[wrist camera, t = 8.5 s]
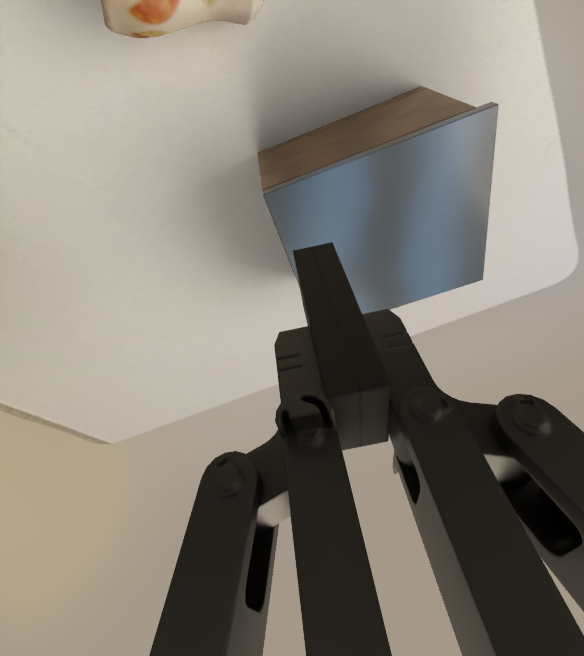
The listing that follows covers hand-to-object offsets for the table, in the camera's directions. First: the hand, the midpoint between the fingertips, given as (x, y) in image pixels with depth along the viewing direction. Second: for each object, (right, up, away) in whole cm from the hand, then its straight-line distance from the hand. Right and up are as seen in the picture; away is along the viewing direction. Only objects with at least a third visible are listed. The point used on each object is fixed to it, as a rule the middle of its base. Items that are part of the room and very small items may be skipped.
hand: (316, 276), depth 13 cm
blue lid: (+6, +5, +13) cm, 15 cm away
